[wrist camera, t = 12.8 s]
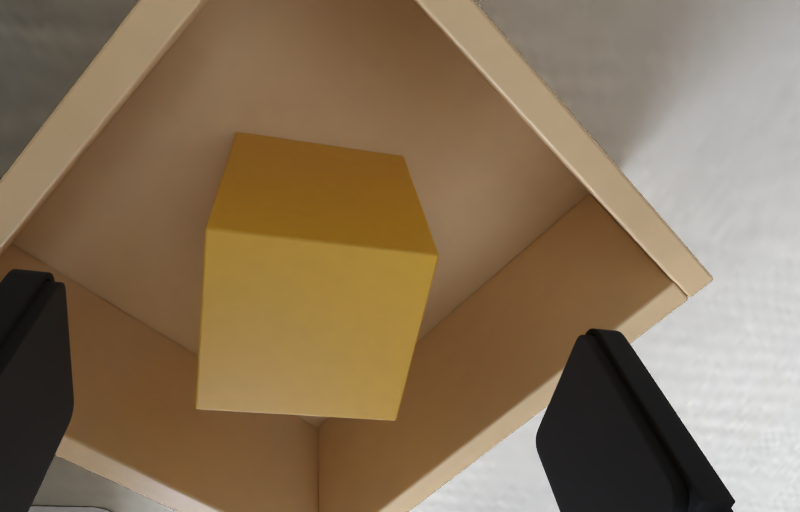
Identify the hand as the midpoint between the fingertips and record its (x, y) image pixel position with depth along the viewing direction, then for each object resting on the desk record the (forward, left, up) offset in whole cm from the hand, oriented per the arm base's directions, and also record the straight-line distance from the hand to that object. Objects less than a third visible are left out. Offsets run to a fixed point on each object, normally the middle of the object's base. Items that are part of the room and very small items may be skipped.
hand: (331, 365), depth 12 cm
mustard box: (0, 0, -7) cm, 7 cm away
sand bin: (0, 0, -8) cm, 8 cm away
